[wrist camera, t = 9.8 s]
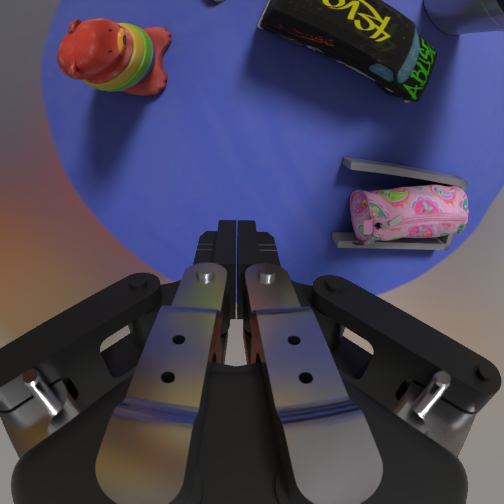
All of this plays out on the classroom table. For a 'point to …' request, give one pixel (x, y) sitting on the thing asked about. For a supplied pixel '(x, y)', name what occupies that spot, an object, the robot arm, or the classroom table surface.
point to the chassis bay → (406, 171)
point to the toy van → (358, 39)
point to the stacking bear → (115, 56)
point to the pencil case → (408, 213)
